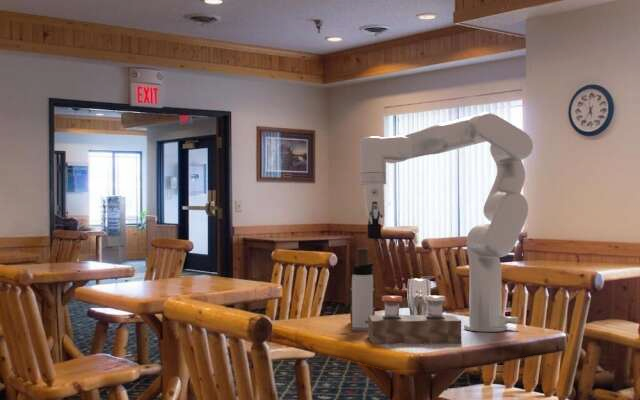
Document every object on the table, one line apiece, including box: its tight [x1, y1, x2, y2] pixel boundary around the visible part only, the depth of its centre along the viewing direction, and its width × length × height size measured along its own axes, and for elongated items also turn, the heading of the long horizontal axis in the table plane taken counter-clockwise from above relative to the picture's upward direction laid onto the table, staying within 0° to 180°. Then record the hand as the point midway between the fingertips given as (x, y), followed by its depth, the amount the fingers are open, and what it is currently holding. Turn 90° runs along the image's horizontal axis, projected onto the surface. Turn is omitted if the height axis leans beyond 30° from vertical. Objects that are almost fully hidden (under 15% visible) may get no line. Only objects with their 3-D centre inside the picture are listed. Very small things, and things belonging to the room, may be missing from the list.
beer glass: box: [406, 278, 431, 315], centre depth 229 cm, size 7×7×15 cm
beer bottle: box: [349, 247, 376, 324], centre depth 243 cm, size 8×8×24 cm
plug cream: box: [425, 295, 446, 319], centre depth 210 cm, size 6×6×8 cm
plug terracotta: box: [381, 295, 403, 319], centre depth 210 cm, size 6×6×8 cm
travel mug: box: [351, 262, 375, 332], centre depth 228 cm, size 6×7×20 cm
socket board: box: [367, 314, 462, 345], centre depth 210 cm, size 24×12×6 cm, turn 91°
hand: (374, 237), depth 221 cm, fingers open, 9 cm apart
